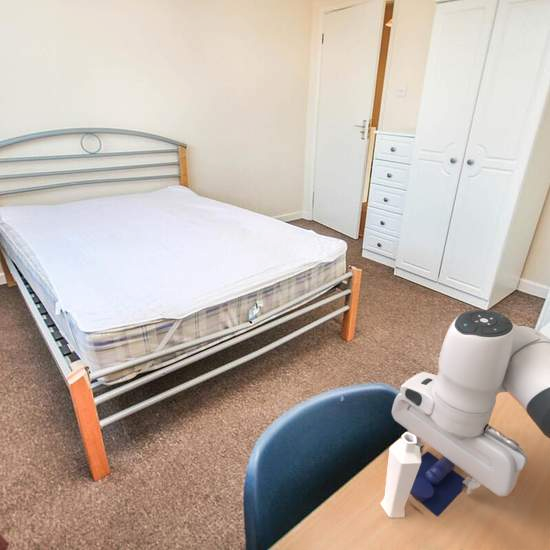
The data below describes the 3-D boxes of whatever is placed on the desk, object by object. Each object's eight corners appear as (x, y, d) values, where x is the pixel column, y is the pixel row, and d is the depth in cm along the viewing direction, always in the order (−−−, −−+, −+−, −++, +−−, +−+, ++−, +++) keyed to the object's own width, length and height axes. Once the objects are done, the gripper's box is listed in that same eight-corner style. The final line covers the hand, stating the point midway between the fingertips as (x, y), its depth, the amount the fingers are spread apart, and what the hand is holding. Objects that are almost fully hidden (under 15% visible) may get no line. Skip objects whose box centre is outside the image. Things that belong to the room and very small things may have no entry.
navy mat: (427, 453, 71) (427, 450, 70) (469, 484, 65) (469, 482, 65) (394, 482, 65) (394, 479, 65) (436, 519, 59) (437, 516, 59)
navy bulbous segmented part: (440, 458, 69) (442, 448, 68) (459, 472, 66) (462, 462, 65) (405, 490, 63) (407, 480, 62) (424, 506, 60) (427, 496, 59)
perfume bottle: (415, 515, 60) (434, 445, 54) (392, 525, 58) (408, 454, 52) (396, 489, 64) (412, 422, 58) (374, 498, 62) (388, 429, 56)
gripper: (540, 440, 54) (512, 505, 60) (414, 367, 69) (401, 424, 74) (521, 463, 50) (493, 530, 56) (392, 380, 65) (381, 440, 71)
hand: (440, 469), depth 65 cm, fingers open, 8 cm apart
